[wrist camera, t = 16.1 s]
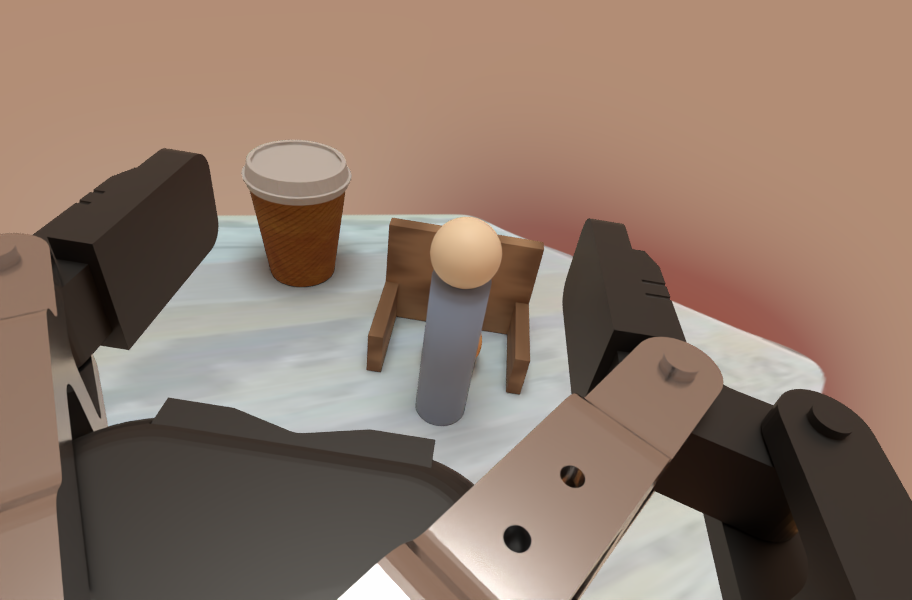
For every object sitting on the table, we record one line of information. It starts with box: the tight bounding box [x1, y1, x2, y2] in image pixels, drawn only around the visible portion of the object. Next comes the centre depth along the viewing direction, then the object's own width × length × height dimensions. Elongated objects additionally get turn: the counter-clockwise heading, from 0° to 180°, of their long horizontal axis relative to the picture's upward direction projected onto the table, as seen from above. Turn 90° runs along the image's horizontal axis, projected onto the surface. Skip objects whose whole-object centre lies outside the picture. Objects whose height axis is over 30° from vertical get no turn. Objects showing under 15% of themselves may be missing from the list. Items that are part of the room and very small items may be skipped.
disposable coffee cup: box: [242, 140, 351, 287], centre depth 52 cm, size 10×10×12 cm
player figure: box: [416, 217, 502, 426], centre depth 39 cm, size 5×5×17 cm
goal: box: [367, 218, 544, 394], centre depth 46 cm, size 13×9×10 cm, turn 85°
